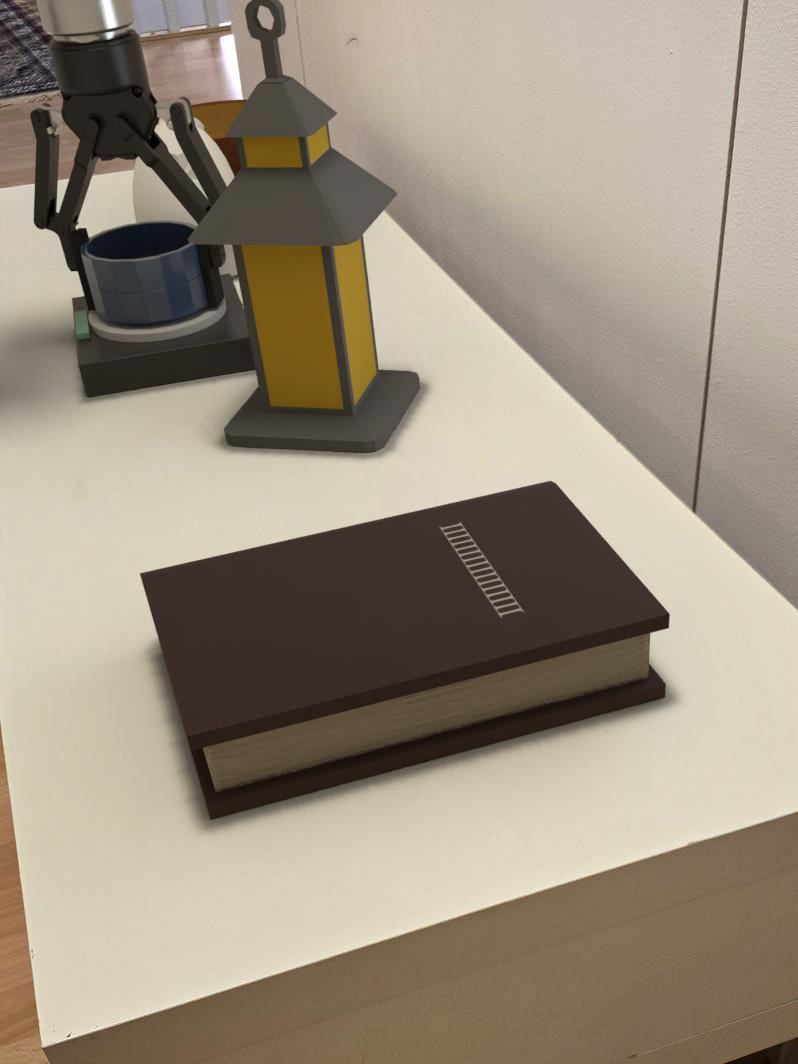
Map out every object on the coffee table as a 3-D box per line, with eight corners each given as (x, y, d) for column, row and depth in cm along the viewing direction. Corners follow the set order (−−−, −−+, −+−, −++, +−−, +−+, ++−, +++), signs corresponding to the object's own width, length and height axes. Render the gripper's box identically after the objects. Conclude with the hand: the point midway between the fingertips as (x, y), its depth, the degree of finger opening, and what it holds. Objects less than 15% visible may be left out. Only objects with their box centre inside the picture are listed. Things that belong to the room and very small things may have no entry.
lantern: (380, 453, 100) (326, 15, 79) (220, 445, 103) (128, 21, 82) (423, 381, 110) (386, -25, 89) (276, 376, 112) (206, -19, 92)
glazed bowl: (81, 331, 113) (62, 263, 109) (120, 287, 121) (103, 222, 117) (197, 328, 112) (182, 259, 108) (229, 284, 120) (216, 218, 116)
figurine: (255, 286, 130) (226, 127, 119) (148, 298, 129) (110, 139, 119) (253, 252, 138) (226, 100, 127) (152, 263, 137) (117, 111, 127)
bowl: (159, 200, 154) (139, 110, 148) (297, 182, 157) (283, 92, 150) (167, 243, 142) (146, 147, 135) (316, 222, 144) (303, 127, 137)
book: (546, 547, 87) (544, 470, 83) (665, 696, 74) (669, 613, 70) (158, 639, 82) (136, 561, 78) (210, 819, 68) (186, 736, 64)
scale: (87, 397, 111) (75, 355, 109) (80, 328, 124) (69, 289, 121) (260, 368, 114) (252, 327, 111) (235, 303, 127) (228, 264, 124)
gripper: (240, 15, 102) (285, 286, 117) (-24, 29, 105) (53, 292, 120) (217, 35, 97) (267, 316, 112) (-61, 49, 100) (24, 321, 115)
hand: (156, 304), depth 116 cm, fingers closed on glazed bowl, 11 cm apart
